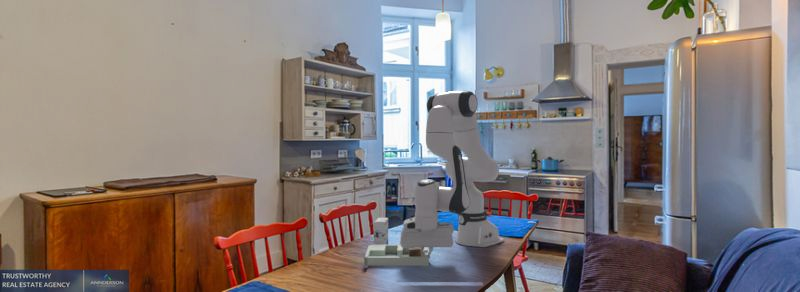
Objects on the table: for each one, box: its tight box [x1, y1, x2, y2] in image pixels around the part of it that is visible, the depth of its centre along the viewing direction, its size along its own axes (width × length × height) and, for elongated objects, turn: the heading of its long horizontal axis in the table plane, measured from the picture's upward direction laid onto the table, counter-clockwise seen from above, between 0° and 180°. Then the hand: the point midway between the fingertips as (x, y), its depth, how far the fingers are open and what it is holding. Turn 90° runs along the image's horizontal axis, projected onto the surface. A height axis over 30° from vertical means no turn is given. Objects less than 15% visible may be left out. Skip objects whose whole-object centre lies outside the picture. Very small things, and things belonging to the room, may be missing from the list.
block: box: [409, 247, 421, 257], centre depth 149 cm, size 4×4×4 cm
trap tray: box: [363, 244, 430, 269], centre depth 152 cm, size 24×17×4 cm
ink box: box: [373, 217, 389, 245], centre depth 173 cm, size 9×5×12 cm, turn 168°
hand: (426, 258), depth 148 cm, fingers closed
